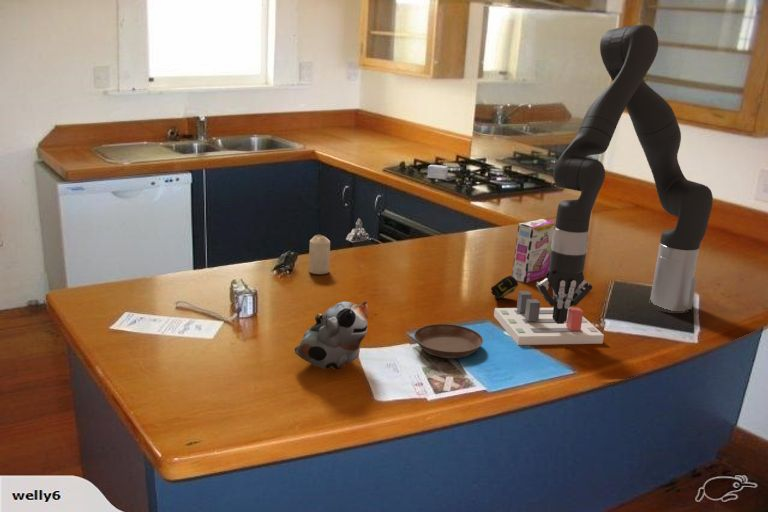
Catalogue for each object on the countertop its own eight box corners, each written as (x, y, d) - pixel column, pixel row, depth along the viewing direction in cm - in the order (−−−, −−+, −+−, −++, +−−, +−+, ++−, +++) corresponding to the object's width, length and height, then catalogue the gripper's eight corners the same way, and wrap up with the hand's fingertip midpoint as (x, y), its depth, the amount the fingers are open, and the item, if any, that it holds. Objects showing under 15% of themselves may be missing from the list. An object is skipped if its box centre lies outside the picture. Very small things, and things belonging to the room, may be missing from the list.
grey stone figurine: (361, 235, 245) (362, 212, 242) (375, 242, 238) (377, 219, 236) (337, 238, 240) (338, 214, 238) (351, 245, 233) (352, 221, 231)
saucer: (412, 360, 156) (413, 348, 155) (413, 332, 170) (414, 321, 169) (484, 365, 156) (485, 353, 155) (479, 337, 170) (480, 326, 169)
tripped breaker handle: (576, 326, 172) (578, 307, 171) (580, 330, 170) (583, 311, 169) (566, 326, 172) (568, 307, 170) (570, 330, 170) (573, 311, 168)
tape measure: (499, 303, 194) (491, 290, 195) (521, 288, 194) (513, 276, 195) (496, 300, 188) (487, 287, 189) (519, 285, 187) (511, 272, 188)
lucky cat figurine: (329, 334, 164) (344, 277, 159) (373, 361, 158) (389, 303, 153) (283, 354, 152) (297, 294, 146) (328, 384, 146) (345, 322, 141)
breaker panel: (572, 315, 186) (575, 288, 184) (602, 343, 170) (607, 314, 168) (493, 315, 182) (496, 288, 180) (517, 344, 166) (521, 315, 164)
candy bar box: (525, 286, 205) (532, 227, 200) (510, 281, 208) (517, 223, 204) (549, 278, 213) (556, 221, 208) (534, 273, 216) (541, 217, 211)
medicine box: (446, 186, 327) (448, 166, 324) (444, 188, 323) (446, 167, 320) (428, 184, 329) (430, 164, 326) (426, 185, 325) (428, 165, 322)
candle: (332, 273, 206) (334, 237, 203) (314, 275, 203) (315, 239, 200) (323, 267, 210) (324, 232, 207) (305, 269, 207) (306, 234, 204)
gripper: (590, 243, 170) (579, 316, 175) (533, 243, 167) (525, 316, 172) (605, 253, 162) (593, 328, 168) (546, 253, 160) (536, 329, 165)
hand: (558, 322), depth 170 cm, fingers closed
